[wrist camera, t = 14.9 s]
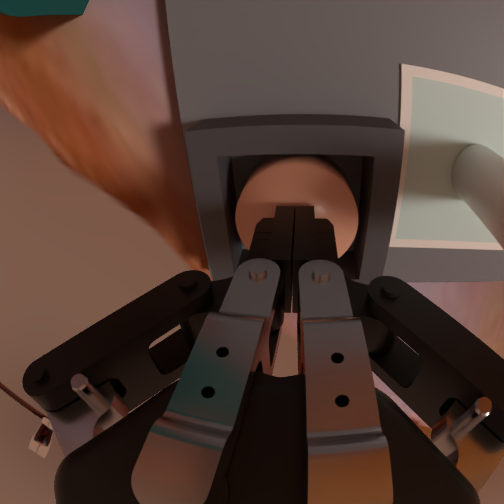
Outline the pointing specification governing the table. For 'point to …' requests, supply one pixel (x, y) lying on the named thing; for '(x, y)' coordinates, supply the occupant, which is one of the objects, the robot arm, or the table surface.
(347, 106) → the drawing board
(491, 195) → the marker
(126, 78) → the table surface
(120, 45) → the table surface
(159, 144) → the table surface
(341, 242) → the button
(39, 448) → the beer glass
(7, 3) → the bracket
